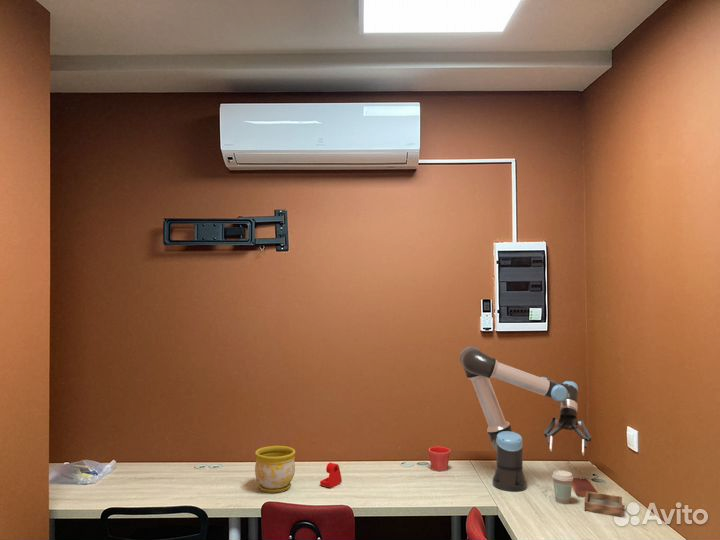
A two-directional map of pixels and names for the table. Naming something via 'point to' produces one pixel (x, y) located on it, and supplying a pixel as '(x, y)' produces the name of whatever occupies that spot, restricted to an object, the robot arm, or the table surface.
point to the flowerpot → (274, 468)
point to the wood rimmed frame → (603, 504)
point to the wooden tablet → (582, 487)
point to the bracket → (332, 476)
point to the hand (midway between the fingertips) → (566, 452)
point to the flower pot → (439, 458)
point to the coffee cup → (562, 486)
